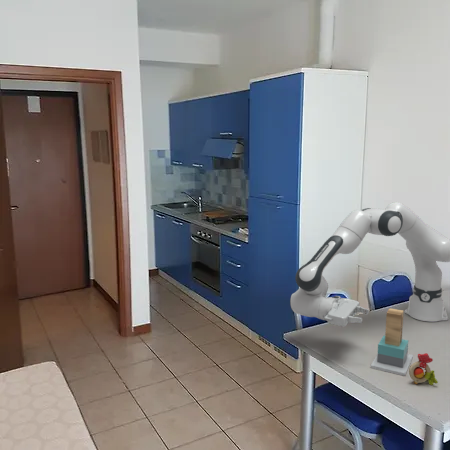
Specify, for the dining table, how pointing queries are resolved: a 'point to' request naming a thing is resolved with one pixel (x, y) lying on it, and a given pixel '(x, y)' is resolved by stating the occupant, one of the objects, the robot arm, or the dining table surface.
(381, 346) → the brick tower
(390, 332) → the oak brick
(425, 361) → the bird rattle
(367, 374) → the dining table surface
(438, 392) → the dining table surface
